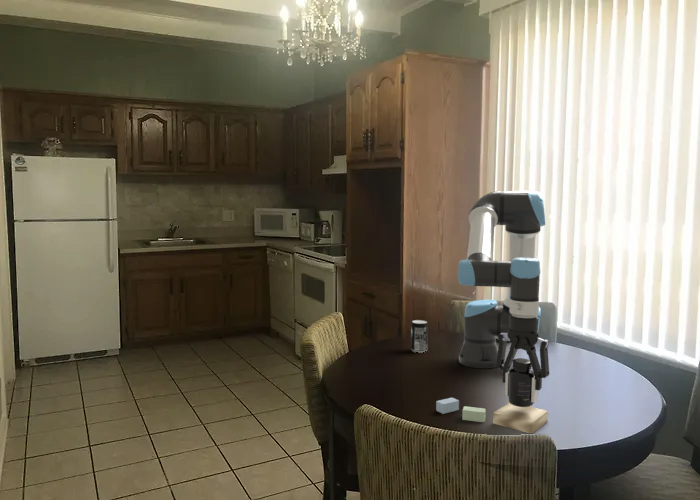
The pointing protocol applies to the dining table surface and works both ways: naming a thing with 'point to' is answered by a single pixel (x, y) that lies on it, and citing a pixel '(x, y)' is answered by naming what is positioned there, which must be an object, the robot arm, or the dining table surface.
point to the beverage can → (419, 336)
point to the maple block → (520, 418)
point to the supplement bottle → (520, 383)
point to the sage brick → (473, 414)
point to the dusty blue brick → (447, 405)
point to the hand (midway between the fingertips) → (521, 397)
